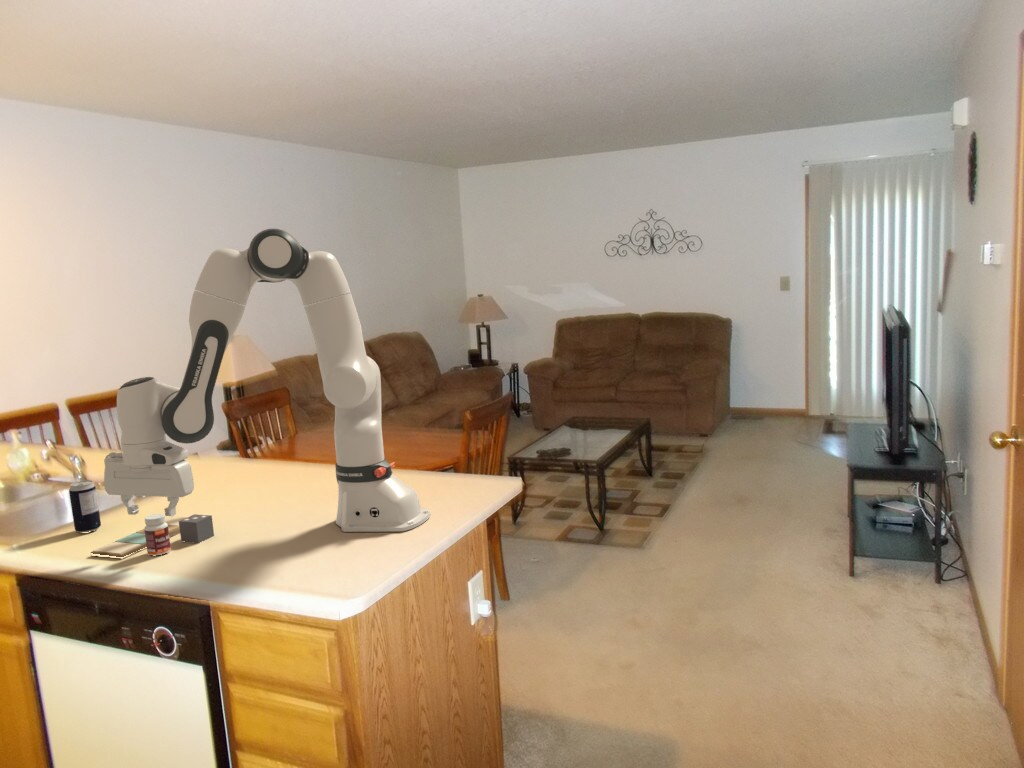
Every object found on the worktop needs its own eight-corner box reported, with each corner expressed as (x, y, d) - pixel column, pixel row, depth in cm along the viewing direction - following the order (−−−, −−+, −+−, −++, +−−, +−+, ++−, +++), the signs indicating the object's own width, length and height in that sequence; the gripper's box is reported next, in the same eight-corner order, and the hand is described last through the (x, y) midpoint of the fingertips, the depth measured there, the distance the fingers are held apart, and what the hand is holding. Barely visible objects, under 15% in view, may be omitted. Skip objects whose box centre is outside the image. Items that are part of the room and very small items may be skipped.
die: (214, 536, 184) (211, 515, 183) (198, 543, 179) (196, 522, 178) (197, 534, 185) (194, 513, 185) (181, 542, 181) (178, 520, 180)
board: (200, 523, 194) (200, 518, 193) (122, 559, 171) (121, 553, 171) (172, 521, 197) (171, 516, 197) (91, 556, 175) (90, 550, 174)
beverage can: (102, 525, 197) (96, 478, 195) (100, 532, 192) (93, 484, 190) (77, 529, 195) (70, 482, 193) (73, 536, 190) (66, 487, 188)
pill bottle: (159, 557, 171) (154, 520, 170) (142, 556, 173) (137, 519, 172) (176, 550, 175) (171, 513, 174) (159, 548, 177) (154, 512, 176)
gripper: (93, 455, 170) (101, 517, 172) (176, 457, 165) (183, 521, 168) (114, 448, 176) (121, 508, 178) (194, 450, 171) (201, 511, 174)
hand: (152, 514), depth 173 cm, fingers open, 8 cm apart
